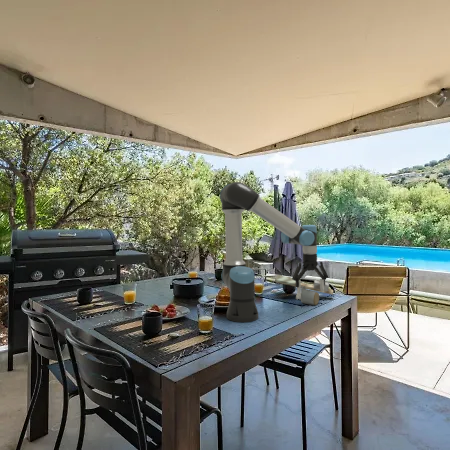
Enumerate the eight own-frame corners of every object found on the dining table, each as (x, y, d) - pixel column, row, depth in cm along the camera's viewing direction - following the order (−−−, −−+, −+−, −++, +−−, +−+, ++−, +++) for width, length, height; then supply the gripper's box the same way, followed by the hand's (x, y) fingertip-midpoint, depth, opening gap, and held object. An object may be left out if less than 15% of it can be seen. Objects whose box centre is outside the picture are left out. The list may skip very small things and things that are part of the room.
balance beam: (274, 283, 191) (275, 275, 191) (277, 278, 206) (278, 271, 205) (333, 296, 183) (334, 288, 182) (332, 290, 197) (333, 282, 197)
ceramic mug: (314, 306, 174) (314, 292, 174) (300, 304, 179) (300, 290, 179) (322, 302, 182) (322, 289, 182) (308, 300, 187) (308, 287, 187)
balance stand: (296, 299, 190) (295, 286, 190) (297, 294, 201) (297, 282, 201) (310, 300, 188) (310, 287, 187) (310, 295, 199) (310, 283, 199)
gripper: (327, 251, 186) (327, 288, 186) (285, 253, 180) (286, 292, 181) (334, 252, 178) (335, 291, 179) (291, 255, 173) (292, 295, 174)
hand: (310, 292), depth 180 cm, fingers open, 13 cm apart
